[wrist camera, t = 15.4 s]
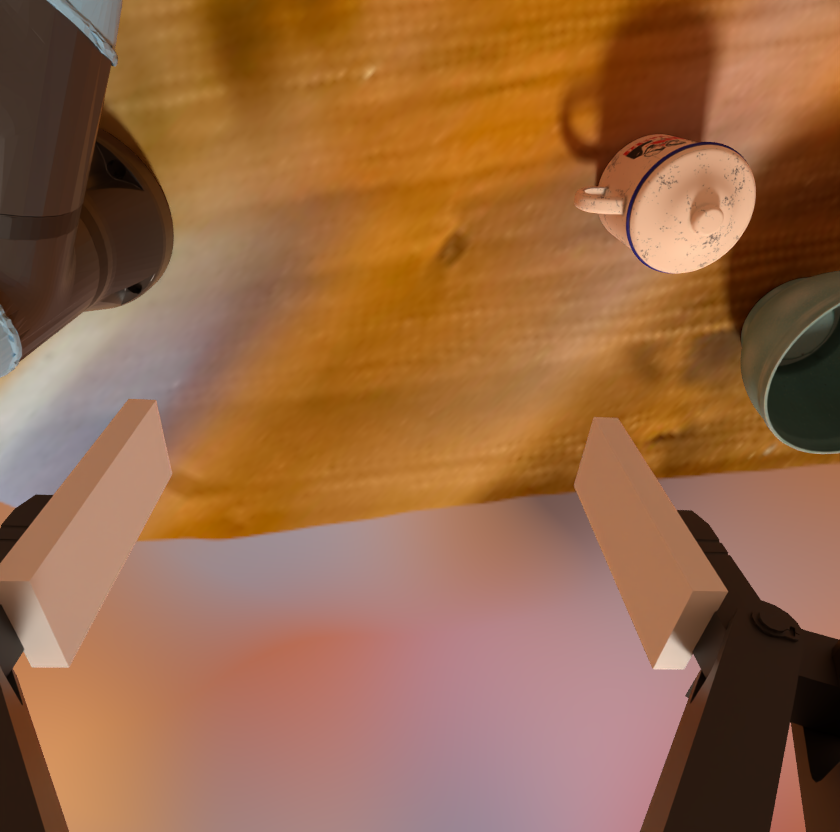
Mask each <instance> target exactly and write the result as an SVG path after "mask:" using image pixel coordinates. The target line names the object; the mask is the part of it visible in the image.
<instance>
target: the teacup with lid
mask: <svg viewBox="0 0 840 832" xmlns="http://www.w3.org/2000/svg"><path fill="white" fill-rule="evenodd" d="M755 199H756V186H755V180H754V176H753V173H752V171H751V169H750V167H749V165H748V163H747V162H746V160H745V159H744V158H743V157H742V155H740V154H739V153H738V152H737V151H736V150H734V149H733V148H731V147H729V146H726V145H723V144H720V143H715V142H695V141H691V140H687V139H683V138H679V137H675V136H670V135H665V134H655V135H649V136H645V137H642V138H639V139H637V140H635V141H633V142H631V143H629V144H628V145H626V146H625V147H624V148H622V149H621V150H620V151H619V152H618V153H617V154H616V155H615V156H614V157H613V158H612V160H611V161H610V162H609V164H608V165H607V167H606V168H605V170H604V172H603V174H602V177H601V179H600V182H599V185H598V186H594V187H584V188H581V189H579V190H578V191H577V192H576V195H575V200H574V203H575V206H576V207H577V208H579V209H581V210H583V211H587V212H592V213H598V214H599V217H600V220H601V222H602V223H603V225H604V227H605V228H606V229H607V230H608V231H609V232H610V233H611V234H612V235H613V236H615V237H616V238H617V239H618V240H620V241H621V242H622V243H624V244H625V245H626V246H627V247H629V248H630V249H631V250H632V251H633V252H634V254H635V255H636V257H637V258H638V259H639V260H640V261H641V262H642V263H643V264H645V265H646V266H648V267H649V268H651V269H654V270H656V271H659V272H664V273H686V272H691V271H695V270H698V269H701V268H703V267H705V266H707V265H709V264H711V263H713V262H714V261H716V260H718V259H719V258H720V257H722V256H723V255H724V254H725V253H727V252H728V251H729V250H730V249H731V248H732V247H733V246H734V245H735V244H736V242H737V241H738V240H739V239H740V237H741V236H742V234H743V233H744V231H745V229H746V228H747V226H748V223H749V221H750V219H751V216H752V213H753V210H754V205H755Z"/></svg>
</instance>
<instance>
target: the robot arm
mask: <svg viewBox="0 0 840 832" xmlns="http://www.w3.org/2000/svg"><path fill="white" fill-rule="evenodd" d="M121 8H122V0H0V377H3V376H5V375H7V374H8V373H9V372H11V371H12V370H14V369H15V367H16V366H17V365H18V364H19V362H20V361H21V360H22V359H24V358H25V357H26V356H27V355H29V354H30V353H31V352H33V351H34V350H35V349H36V348H38V347H39V346H40V345H42V344H43V343H44V342H45V341H47V340H48V339H49V338H50V337H52V336H53V335H54V334H56V333H57V332H58V331H59V330H61V329H62V328H63V327H65V326H66V325H67V324H68V323H70V322H71V321H72V320H74V319H75V318H76V317H77V316H79V315H80V314H81V313H82V312H86V311H94V310H102V309H110V308H115V307H118V306H122V305H124V304H127V303H129V302H131V301H133V300H135V299H137V298H138V297H140V296H141V295H143V294H144V293H145V292H146V291H147V290H149V289H150V288H151V287H152V286H153V285H154V284H155V283H156V282H157V281H158V280H159V279H160V278H161V276H162V275H163V273H164V272H165V270H166V268H167V266H168V264H169V261H170V258H171V254H172V249H173V224H172V218H171V214H170V210H169V207H168V204H167V201H166V199H165V197H164V194H163V192H162V190H161V188H160V186H159V185H158V183H157V181H156V180H155V178H154V177H153V175H152V174H151V172H150V171H149V170H148V168H147V167H146V166H145V164H144V163H143V162H142V161H141V160H140V159H139V158H138V157H137V156H136V155H135V154H134V153H133V152H132V151H131V150H130V149H129V148H128V147H127V146H126V145H124V144H123V143H122V142H121V141H119V140H118V139H116V138H115V137H114V136H112V135H110V134H109V133H107V132H106V131H104V130H102V129H100V128H98V127H99V122H100V117H101V112H102V108H103V103H104V98H105V93H106V88H107V83H108V78H109V73H110V68H111V65H112V66H116V65H117V62H118V57H117V54H116V52H115V46H116V39H117V33H118V27H119V20H120V14H121ZM171 475H172V471H171V466H170V462H169V457H168V452H167V448H166V443H165V439H164V434H163V429H162V425H161V420H160V416H159V411H158V406H157V402H156V400H144V399H128V401H127V402H126V403H125V404H124V406H123V407H122V408H121V410H120V411H119V412H118V413H117V415H116V416H115V417H114V419H113V420H112V421H111V422H110V424H109V425H108V426H107V427H106V429H105V430H104V431H103V433H102V434H101V435H100V436H99V438H98V439H97V440H96V442H95V443H94V444H93V445H92V447H91V448H90V449H89V450H88V452H87V453H86V454H85V456H84V457H83V458H82V459H81V461H80V462H79V463H78V465H77V466H76V467H75V468H74V470H73V471H72V472H71V474H70V475H69V476H68V477H67V479H66V480H65V481H64V482H63V484H62V485H61V486H60V488H59V489H58V490H57V491H56V493H55V494H54V495H35V496H33V497H32V498H30V499H29V500H27V501H26V502H24V503H23V504H21V505H20V506H18V507H17V508H15V509H14V510H13V512H12V513H11V514H10V515H9V516H8V517H7V519H6V520H5V521H4V522H3V523H2V525H1V528H0V832H69V830H68V827H67V824H66V821H65V818H64V815H63V812H62V809H61V806H60V803H59V800H58V797H57V795H56V791H55V788H54V785H53V782H52V779H51V776H50V773H49V771H48V767H47V764H46V762H45V758H44V755H43V752H42V750H41V747H40V744H39V741H38V738H37V735H36V732H35V729H34V726H33V723H32V720H31V717H30V714H29V711H28V708H27V705H26V702H25V699H24V696H23V693H22V690H21V687H20V684H19V681H18V678H17V675H16V674H15V672H14V670H13V667H14V665H15V664H16V662H17V660H18V659H19V657H20V656H21V654H22V652H23V651H24V653H25V655H26V657H27V659H28V661H29V663H30V665H31V667H70V665H71V663H72V661H73V659H74V657H75V655H76V653H77V651H78V650H79V648H80V646H81V644H82V642H83V640H84V638H85V637H86V635H87V633H88V631H89V629H90V627H91V625H92V623H93V622H94V619H95V618H96V616H97V614H98V612H99V610H100V608H101V606H102V605H103V603H104V601H105V599H106V597H107V595H108V593H109V592H110V590H111V588H112V586H113V584H114V582H115V580H116V578H117V577H118V575H119V573H120V571H121V569H122V567H123V565H124V563H125V561H126V559H127V558H128V556H129V554H130V552H131V550H132V548H133V547H134V545H135V543H136V541H137V539H138V537H139V535H140V533H141V532H142V530H143V528H144V526H145V524H146V522H147V520H148V518H149V517H150V515H151V513H152V511H153V509H154V507H155V505H156V503H157V502H158V500H159V498H160V496H161V494H162V492H163V490H164V488H165V487H166V485H167V483H168V481H169V479H170V477H171ZM574 487H575V490H576V492H577V494H578V496H579V499H580V501H581V504H582V506H583V508H584V510H585V513H586V515H587V517H588V520H589V522H590V524H591V527H592V529H593V531H594V533H595V536H596V538H597V541H598V543H599V545H600V548H601V550H602V552H603V554H604V557H605V559H606V562H607V564H608V566H609V569H610V571H611V573H612V575H613V577H614V580H615V582H616V585H617V587H618V589H619V591H620V594H621V596H622V599H623V601H624V603H625V606H626V608H627V610H628V613H629V615H630V617H631V620H632V622H633V624H634V626H635V629H636V631H637V634H638V636H639V638H640V640H641V643H642V645H643V647H644V650H645V652H646V654H647V657H648V659H649V661H650V664H651V666H652V668H653V669H685V667H686V665H687V663H688V662H689V660H690V658H691V656H692V654H694V656H695V658H696V660H697V662H698V664H699V666H700V668H701V670H700V672H699V673H698V675H697V677H696V679H695V680H694V682H693V684H692V685H691V687H690V689H689V690H688V692H687V694H686V697H688V698H689V699H688V701H687V704H686V707H685V710H684V712H683V715H682V718H681V721H680V723H679V726H678V729H677V732H676V734H675V737H674V740H673V743H672V745H671V749H670V751H669V754H668V756H667V759H666V762H665V764H664V767H663V770H662V773H661V776H660V778H659V781H658V784H657V787H656V789H655V792H654V795H653V797H652V800H651V803H650V806H649V808H648V811H647V814H646V817H645V819H644V822H643V825H642V828H641V830H640V832H770V827H771V821H772V816H773V811H774V805H775V799H776V794H777V788H778V783H779V778H780V773H781V767H782V762H783V757H784V751H785V746H786V740H787V735H788V730H789V724H790V722H791V727H792V733H793V740H794V748H795V755H796V762H797V769H798V777H799V784H800V790H801V798H802V805H803V813H804V820H805V827H806V832H840V640H838V639H835V638H831V637H827V636H824V635H820V634H816V633H813V632H809V631H806V630H803V629H801V628H800V627H799V625H798V623H797V622H796V621H795V620H794V619H793V618H792V617H791V616H790V615H789V614H788V613H786V612H785V611H783V610H782V609H780V608H778V607H777V606H775V605H772V604H770V603H767V602H765V601H761V600H760V598H759V597H758V595H757V594H756V592H755V591H754V590H753V588H752V587H751V585H750V584H749V583H748V581H747V579H746V578H745V577H744V575H743V574H742V572H741V571H740V569H739V568H738V566H737V565H736V563H735V562H734V560H733V559H732V557H731V556H730V555H728V552H727V550H726V549H725V547H724V546H723V545H722V543H720V542H719V539H718V537H717V536H716V534H715V533H714V532H713V530H712V528H711V527H710V525H709V524H708V523H706V522H705V521H704V520H703V519H702V518H700V517H699V516H698V515H697V514H695V513H694V512H693V511H689V510H688V511H687V510H676V509H675V507H674V506H673V504H672V502H671V501H670V499H669V498H668V496H667V495H666V493H665V491H664V490H663V488H662V487H661V485H660V484H659V482H658V480H657V479H656V477H655V476H654V474H653V473H652V471H651V469H650V468H649V466H648V465H647V463H646V462H645V460H644V458H643V457H642V455H641V454H640V452H639V451H638V449H637V447H636V446H635V444H634V443H633V441H632V440H631V438H630V436H629V435H628V433H627V432H626V430H625V429H624V427H623V425H622V424H621V422H620V421H619V419H618V418H602V417H594V419H593V422H592V425H591V429H590V432H589V436H588V439H587V443H586V446H585V449H584V453H583V456H582V460H581V463H580V466H579V470H578V473H577V477H576V480H575V484H574Z"/></svg>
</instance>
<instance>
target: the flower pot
mask: <svg viewBox="0 0 840 832" xmlns="http://www.w3.org/2000/svg"><path fill="white" fill-rule="evenodd" d="M741 344H742V351H741V373H742V378H743V382H744V386H745V389H746V391H747V393H748V396H749V398H750V400H751V402H752V403H753V405H754V407H755V408H756V410H757V411H758V412H759V414H760V415H761V416H762V418H763V419H764V421H765V423H766V425H767V426H768V428H769V429H770V430H771V431H772V433H773V434H774V435H775V436H776V437H777V438H778V439H779V440H780V441H781V442H783V443H784V444H786V445H788V446H790V447H792V448H794V449H796V450H799V451H803V452H808V453H815V454H834V453H840V271H834V272H828V273H824V274H820V275H816V276H813V277H809V278H799V279H795V280H792V281H789V282H786V283H784V284H782V285H780V286H778V287H776V288H775V289H773V290H772V291H770V292H769V293H767V294H766V295H765V296H764V297H763V298H761V299H760V300H759V301H758V302H757V304H756V305H755V306H754V307H753V308H752V310H751V311H750V313H749V314H748V316H747V318H746V320H745V322H744V325H743V328H742V332H741Z"/></svg>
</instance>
